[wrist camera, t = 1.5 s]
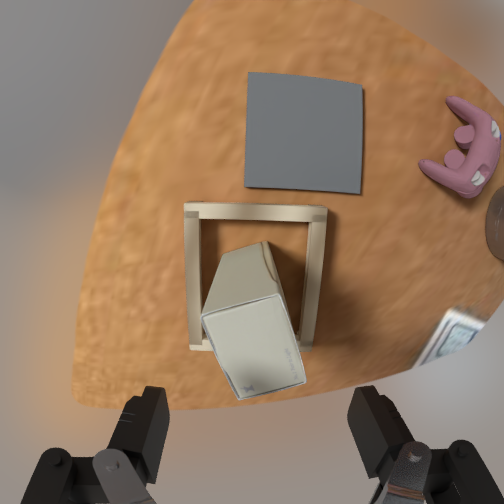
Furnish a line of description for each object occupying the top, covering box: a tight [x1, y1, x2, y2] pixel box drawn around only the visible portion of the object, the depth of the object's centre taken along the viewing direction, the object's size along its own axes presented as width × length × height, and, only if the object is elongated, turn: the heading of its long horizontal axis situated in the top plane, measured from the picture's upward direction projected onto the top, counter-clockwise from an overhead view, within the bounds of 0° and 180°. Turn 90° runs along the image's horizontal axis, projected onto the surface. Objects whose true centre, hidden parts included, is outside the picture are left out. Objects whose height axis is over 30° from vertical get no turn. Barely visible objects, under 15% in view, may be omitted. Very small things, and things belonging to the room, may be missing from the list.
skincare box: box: [200, 241, 307, 400], centre depth 21 cm, size 6×4×12 cm
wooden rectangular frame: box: [184, 201, 328, 352], centre depth 26 cm, size 11×13×2 cm
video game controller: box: [418, 96, 501, 198], centre depth 21 cm, size 10×5×7 cm, turn 151°
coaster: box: [244, 72, 363, 194], centre depth 23 cm, size 10×10×1 cm
